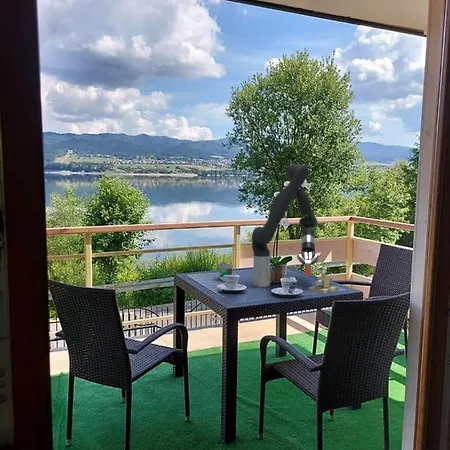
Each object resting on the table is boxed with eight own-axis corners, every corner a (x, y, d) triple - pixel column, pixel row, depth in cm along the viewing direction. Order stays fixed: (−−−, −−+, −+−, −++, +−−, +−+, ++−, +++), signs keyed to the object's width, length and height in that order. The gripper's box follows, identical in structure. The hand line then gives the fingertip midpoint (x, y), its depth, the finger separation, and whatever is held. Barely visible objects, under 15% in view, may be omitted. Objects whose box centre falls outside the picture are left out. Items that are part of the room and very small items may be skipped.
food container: (215, 278, 290) (215, 262, 289) (225, 277, 292) (225, 261, 291) (222, 282, 278) (222, 265, 277) (232, 281, 280) (232, 265, 279)
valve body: (319, 289, 255) (319, 278, 255) (313, 288, 259) (313, 277, 258) (333, 286, 263) (333, 275, 262) (327, 284, 266) (327, 274, 266)
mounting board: (323, 293, 253) (323, 290, 253) (308, 290, 261) (308, 287, 260) (338, 289, 261) (338, 287, 261) (323, 286, 269) (323, 283, 269)
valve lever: (326, 275, 261) (326, 267, 261) (326, 276, 258) (326, 268, 258) (304, 274, 264) (304, 266, 263) (304, 275, 261) (304, 267, 260)
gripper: (296, 240, 272) (296, 266, 262) (320, 241, 270) (320, 266, 260) (296, 248, 278) (296, 273, 267) (319, 248, 276) (320, 274, 265)
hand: (308, 270), depth 264 cm, fingers closed
